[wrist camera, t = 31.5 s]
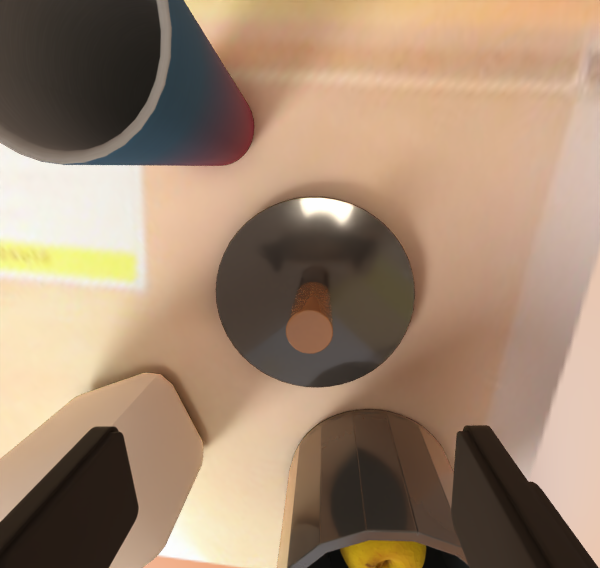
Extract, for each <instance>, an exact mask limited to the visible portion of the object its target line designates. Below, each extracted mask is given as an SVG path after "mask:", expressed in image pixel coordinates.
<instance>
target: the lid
mask: <svg viewBox="0 0 600 568" xmlns="http://www.w3.org/2000/svg"><path fill="white" fill-rule="evenodd" d="M414 299H415V289H414V279H413V273H412V269H411V266H410V263H409V260H408V257H407V255H406V253H405V251H404V249H403V247H402V246H401V244H400V243H399V241H398V240H397V238H396V237H395V235H394V234H393V233H392V232H391V231H390V230H389V229H388V228H387V226H386V225H385V224H383V223H382V222H381V221H380V220H379V219H377V218H376V217H375V216H373V215H372V214H370V213H369V212H367V211H365V210H364V209H362V208H360V207H358V206H355V205H353V204H351V203H348V202H345V201H341V200H338V199H332V198H326V197H304V198H295V199H292V200H288V201H284V202H281V203H278V204H276V205H273V206H271V207H269V208H267V209H265V210H263V211H262V212H260V213H258V214H257V215H255V216H254V217H253V218H252V219H250V220H249V221H248V222H247V223H246V224H245V225H244V226H243V227H242V228H241V229H240V230H239V231H238V232H237V233H236V235H235V236H234V237H233V239H232V240H231V241H230V243H229V245H228V247H227V249H226V251H225V252H224V255H223V257H222V260H221V263H220V265H219V270H218V274H217V282H216V302H217V307H218V313H219V316H220V319H221V322H222V325H223V327H224V329H225V332H226V334H227V336H228V337H229V339H230V341H231V342H232V344H233V345H234V347H235V348H236V349H237V350H238V351H239V353H240V354H241V355H242V356H243V357H244V358H245V359H246V360H247V361H248V362H249V363H250V364H252V365H253V366H254V367H256V368H257V369H258V370H260V371H261V372H263V373H265V374H267V375H269V376H270V377H273V378H275V379H277V380H280V381H282V382H286V383H289V384H292V385H298V386H304V387H329V386H335V385H340V384H344V383H347V382H350V381H353V380H356V379H358V378H360V377H362V376H364V375H366V374H368V373H369V372H371V371H373V370H374V369H375V368H377V367H378V366H379V365H381V364H382V363H383V362H384V361H385V360H386V359H387V358H388V357H389V356H390V355H391V354H392V353H393V352H394V350H395V349H396V348H397V346H398V345H399V344H400V342H401V340H402V338H403V337H404V335H405V333H406V331H407V328H408V326H409V323H410V321H411V317H412V313H413V309H414Z"/></svg>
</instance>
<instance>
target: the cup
mask: <svg viewBox="0 0 600 568" xmlns="http://www.w3.org/2000/svg"><path fill="white" fill-rule="evenodd" d="M253 135H254V120H253V116H252V112H251V110H250V108H249V106H248V104H247V102H246V101H245V99H244V97H243V96H242V94H241V93H240V91H239V89H238V88H237V86H236V84H235V83H234V81H233V80H232V78H231V76H230V75H229V73H228V71H227V70H226V68H225V67H224V65H223V63H222V62H221V60H220V58H219V57H218V55H217V54H216V52H215V50H214V49H213V47H212V45H211V44H210V42H209V41H208V39H207V37H206V36H205V34H204V33H203V31H202V29H201V28H200V26H199V24H198V23H197V21H196V20H195V18H194V16H193V15H192V13H191V11H190V10H189V8H188V7H187V5H186V3H185V2H184V0H0V143H1V144H3V145H5V146H7V147H8V148H10V149H12V150H14V151H15V152H17V153H19V154H21V155H24V156H27V157H30V158H33V159H36V160H39V161H41V162H48V163H56V164H63V165H179V166H222V165H228V164H231V163H233V162H235V161H237V160H239V159H240V158H241V157H242V156H243V155H244V154H245V153H246V151H247V150H248V148H249V146H250V144H251V142H252V139H253Z"/></svg>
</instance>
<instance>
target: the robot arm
mask: <svg viewBox="0 0 600 568" xmlns="http://www.w3.org/2000/svg"><path fill="white" fill-rule="evenodd" d="M138 510H139V506H138V501H137V496H136V491H135V487H134V482H133V477H132V473H131V468H130V463H129V459H128V454H127V450H126V445H125V440H124V436H123V434H122V432H119V431H118V429H117V428H116V427H114V426H96V427H93V428H91V429H90V430H89V431H88V432H87V433H86V434H85V435H84V436H83V437H82V438H81V439H80V440H79V441H78V442H77V444H76V445H75V446H74V447H73V448H72V449H71V450H70V451H69V452H68V453H67V454H66V455H65V456H64V457H63V458H62V459H61V460H60V461H59V462H58V463H57V464H56V465H55V466H54V467H53V468H52V469H51V470H50V471H49V472H48V473H47V474H46V475H45V476H44V477H43V478H42V480H41V481H40V482H39V483H38V484H37V485H36V486H35V487H34V488H33V489H32V490H31V491H30V492H29V493H28V494H27V495H26V496H25V497H24V498H23V499H22V500H21V501H20V502H19V503H18V504H17V505H16V506H15V507H14V508H13V509H12V510H11V511H10V512H9V513H8V515H7V516H6V517H5V518H4V519H3V520H2V521H1V522H0V568H109V567H110V565H111V563H112V562H113V560H114V558H115V556H116V554H117V553H118V551H119V549H120V547H121V546H122V544H123V542H124V540H125V539H126V537H127V535H128V533H129V532H130V530H131V528H132V526H133V524H134V523H135V521H136V519H137V515H138ZM451 517H452V522H453V526H454V529H455V531H456V534H457V537H458V539H459V542H460V544H461V547H462V550H463V552H464V555H465V557H466V560H467V563H468V565H469V568H598V566H597V565H596V564H595V562H594V561H593V560H592V558H591V557H590V555H589V554H588V553H587V551H586V550H585V548H584V547H583V546H582V544H581V543H580V542H579V540H578V539H577V538H576V536H575V535H574V533H573V532H572V531H571V529H570V528H569V526H568V525H567V524H566V522H565V521H564V520H563V519H562V517H561V515H560V514H559V513H558V511H557V510H556V509H555V507H554V506H553V504H552V503H551V502H550V500H549V499H548V498H547V496H546V495H545V494H544V492H543V491H542V489H540V487H539V486H538V485H537V484H535V483H534V482H528V481H527V479H526V478H525V476H524V475H523V474H522V472H521V471H520V469H519V468H518V466H517V465H516V464H515V462H514V461H513V459H512V458H511V456H510V455H509V453H508V452H507V451H506V449H505V448H504V446H503V445H502V443H501V442H500V441H499V439H498V438H497V436H496V435H495V433H494V432H493V431H492V429H491V428H490V427H489V426H465V427H464V429H463V431H459V432H458V433H457V438H456V451H455V464H454V478H453V491H452V504H451Z"/></svg>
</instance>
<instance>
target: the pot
mask: <svg viewBox="0 0 600 568" xmlns="http://www.w3.org/2000/svg"><path fill="white" fill-rule="evenodd" d="M453 478H454V472H453V470H452V468H451V466H450V464H449V461H448V459H447V457H446V455H445V452H444V450H443V448H442V446H441V444H440V443H438V441H437V440H436V439H435V437H434V436H433V435H432V434H431V433H430V432H429V431H428V430H426V429H425V428H424V427H422V426H421V425H420V424H418V423H416V422H415V421H413V420H411V419H409V418H407V417H405V416H402V415H399V414H396V413H393V412H388V411H383V410H371V409H366V410H355V411H349V412H345V413H341V414H338V415H335V416H333V417H331V418H328V419H326V420H325V421H323V422H321V423H320V424H318V425H317V426H316V427H314V428H313V429H312V430H311V431H310V432H309V433H308V434H307V435H306V436H305V437H304V438H303V440H302V441H301V442H300V444H299V446H298V448H297V449H296V451H295V454H294V457H293V460H292V464H291V466H290V470H289V478H288V485H287V493H286V500H285V508H284V516H283V523H282V531H281V538H280V546H279V554H278V561H277V568H349V567H348V566H347V564H346V562H345V560H344V558H343V556H342V554H341V551H340V549H341V548H345V547H348V546H352V545H355V544H359V543H362V542H365V541H369V540H377V541H411V542H417V543H420V544H423V545H426V555H425V560H424V565H423V567H422V568H469V565H468V563H467V560H466V557H465V555H464V552H463V550H462V547H461V544H460V542H459V539H458V537H457V534H456V531H455V529H454V526H453V522H452V517H451V504H452V491H453Z"/></svg>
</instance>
